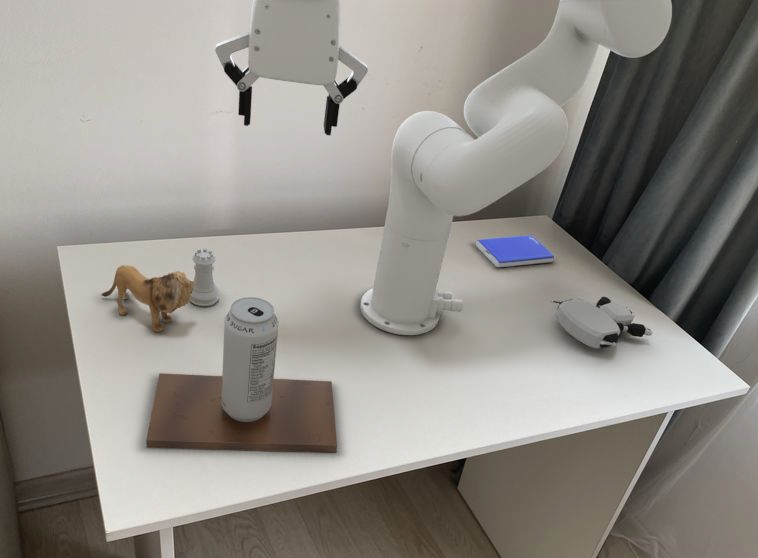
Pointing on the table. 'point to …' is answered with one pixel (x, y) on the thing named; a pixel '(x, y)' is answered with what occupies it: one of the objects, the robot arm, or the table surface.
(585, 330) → the robot toy
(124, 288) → the lion figurine
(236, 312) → the energy drink can
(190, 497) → the table surface
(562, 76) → the robot arm
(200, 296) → the rook chess piece
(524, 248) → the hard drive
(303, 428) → the serving board
